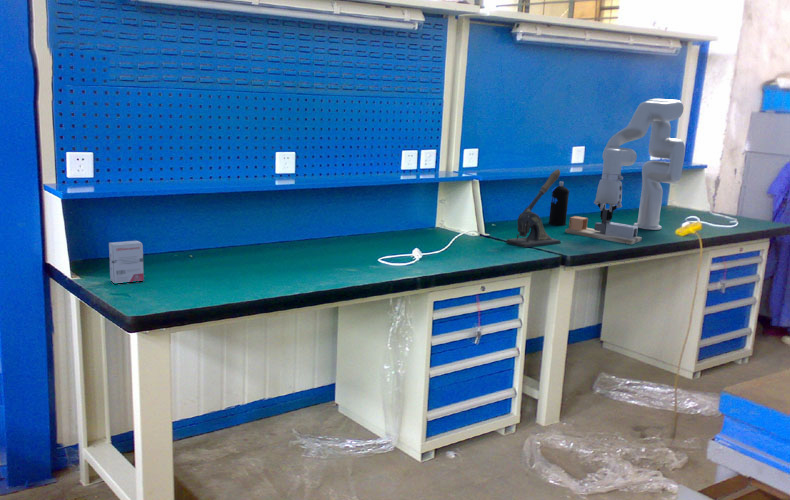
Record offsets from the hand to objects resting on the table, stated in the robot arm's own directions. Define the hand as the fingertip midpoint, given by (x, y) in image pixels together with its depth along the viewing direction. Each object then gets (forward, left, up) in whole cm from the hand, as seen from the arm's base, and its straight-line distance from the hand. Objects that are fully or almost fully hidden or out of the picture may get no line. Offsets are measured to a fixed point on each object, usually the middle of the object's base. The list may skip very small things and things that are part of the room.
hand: (605, 219), depth 317 cm
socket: (0, -13, -6) cm, 14 cm away
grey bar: (0, +4, -6) cm, 7 cm away
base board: (0, 0, -8) cm, 8 cm away
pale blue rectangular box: (0, +7, -6) cm, 10 cm away
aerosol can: (-10, -28, -8) cm, 30 cm away
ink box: (+189, -66, -8) cm, 200 cm away
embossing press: (+38, -14, -8) cm, 41 cm away
